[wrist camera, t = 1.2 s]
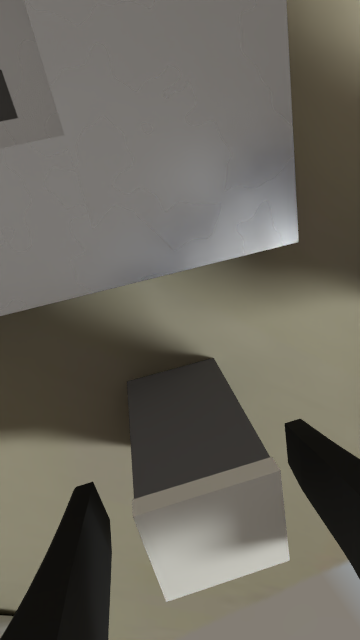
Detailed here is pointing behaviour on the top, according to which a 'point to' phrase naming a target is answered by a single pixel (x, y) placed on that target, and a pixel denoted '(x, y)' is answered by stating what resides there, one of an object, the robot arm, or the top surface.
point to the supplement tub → (4, 623)
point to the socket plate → (139, 141)
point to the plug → (201, 481)
